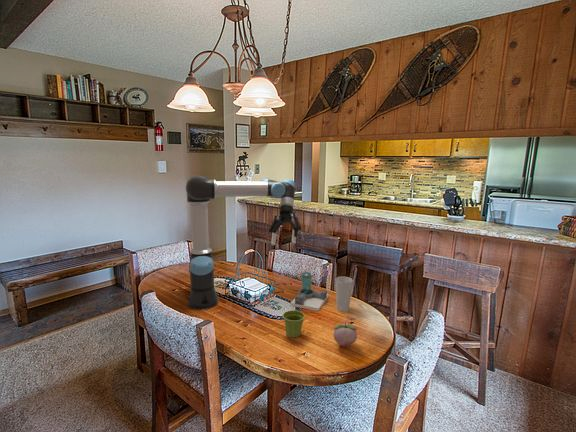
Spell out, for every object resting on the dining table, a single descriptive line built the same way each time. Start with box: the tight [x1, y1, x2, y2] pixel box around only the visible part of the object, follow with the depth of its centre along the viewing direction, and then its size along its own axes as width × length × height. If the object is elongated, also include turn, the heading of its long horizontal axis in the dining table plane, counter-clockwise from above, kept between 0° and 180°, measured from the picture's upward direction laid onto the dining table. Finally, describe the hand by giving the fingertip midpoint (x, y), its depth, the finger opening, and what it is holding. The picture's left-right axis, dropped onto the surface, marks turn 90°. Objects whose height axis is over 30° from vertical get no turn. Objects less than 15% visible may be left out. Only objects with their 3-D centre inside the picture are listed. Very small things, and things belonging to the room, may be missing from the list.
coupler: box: [301, 271, 312, 294], centre depth 172 cm, size 5×5×12 cm
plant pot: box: [282, 309, 306, 338], centre depth 137 cm, size 9×9×9 cm
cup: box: [334, 275, 354, 313], centre depth 159 cm, size 8×8×16 cm
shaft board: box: [289, 288, 330, 312], centre depth 169 cm, size 18×15×5 cm
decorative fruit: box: [332, 322, 358, 347], centre depth 128 cm, size 9×8×10 cm
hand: (283, 243), depth 172 cm, fingers open, 13 cm apart
